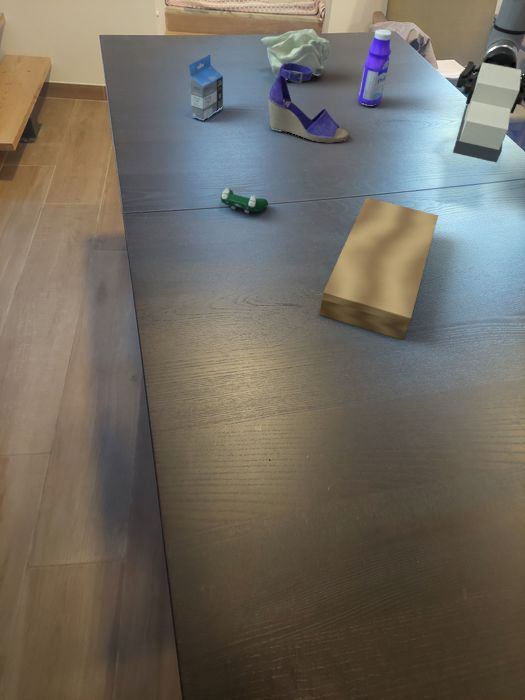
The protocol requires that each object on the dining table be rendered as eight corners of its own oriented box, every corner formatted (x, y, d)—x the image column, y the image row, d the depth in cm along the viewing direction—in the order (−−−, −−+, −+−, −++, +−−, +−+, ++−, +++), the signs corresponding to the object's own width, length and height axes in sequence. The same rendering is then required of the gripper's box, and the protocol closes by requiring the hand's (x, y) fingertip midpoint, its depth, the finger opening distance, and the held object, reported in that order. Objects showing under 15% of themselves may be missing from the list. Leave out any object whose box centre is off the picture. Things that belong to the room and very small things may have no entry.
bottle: (372, 110, 137) (388, 38, 123) (353, 104, 138) (367, 32, 125) (383, 101, 141) (400, 30, 128) (365, 95, 143) (379, 25, 130)
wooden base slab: (430, 236, 100) (438, 215, 96) (402, 340, 81) (411, 318, 77) (361, 218, 103) (366, 196, 99) (318, 314, 84) (323, 292, 80)
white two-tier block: (503, 118, 113) (522, 70, 106) (496, 162, 99) (518, 111, 92) (464, 110, 115) (481, 62, 108) (452, 152, 101) (471, 101, 94)
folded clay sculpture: (277, 104, 151) (258, 57, 138) (278, 75, 157) (259, 28, 144) (337, 85, 145) (322, 34, 132) (335, 56, 150) (321, 4, 138)
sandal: (342, 149, 121) (354, 83, 110) (263, 132, 125) (267, 66, 114) (349, 134, 127) (361, 70, 115) (273, 118, 130) (278, 54, 119)
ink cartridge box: (204, 122, 126) (202, 69, 117) (191, 118, 127) (188, 65, 118) (223, 109, 132) (223, 57, 122) (210, 105, 133) (209, 54, 123)
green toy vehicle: (223, 208, 105) (214, 200, 100) (228, 190, 105) (219, 181, 99) (264, 219, 104) (257, 212, 98) (270, 201, 103) (263, 193, 97)
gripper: (538, 90, 118) (536, 131, 104) (448, 72, 122) (434, 109, 108) (554, 55, 112) (554, 93, 98) (459, 37, 116) (446, 71, 102)
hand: (491, 101), depth 103 cm, fingers closed on white two-tier block, 8 cm apart
